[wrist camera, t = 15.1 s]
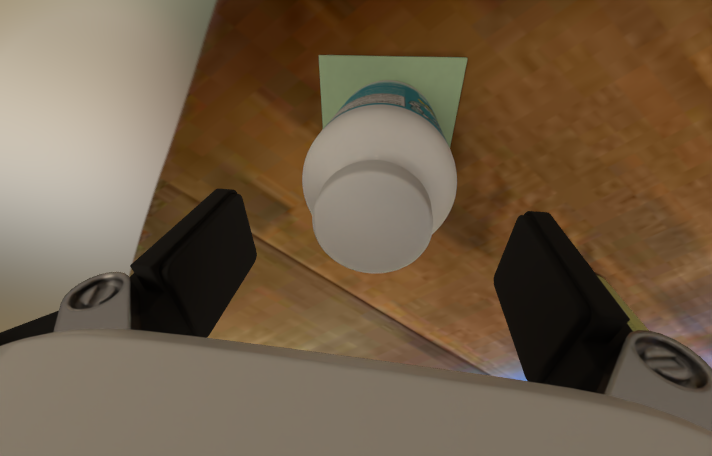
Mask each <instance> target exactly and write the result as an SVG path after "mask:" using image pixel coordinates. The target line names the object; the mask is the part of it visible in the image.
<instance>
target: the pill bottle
mask: <svg viewBox="0 0 712 456" xmlns="http://www.w3.org/2000/svg"><path fill="white" fill-rule="evenodd" d="M302 181H303V192H304V196H305V200H306V203H307V205H308V208H309V210H310V212H311V214H312V216H313V218H312V222H313V229H314V233H315V236H316V238H317V240H318V242H319V244H320V246H321V247H322V249H323V250H324V251H325V252H326V253H327V254H328V255H329V256H330V257H331V258H332V259H333V260H335V261H336V262H338V263H340V264H341V265H343V266H345V267H347V268H350V269H352V270H356V271H360V272H364V273H386V272H391V271H395V270H398V269H401V268H403V267H405V266H407V265H409V264H411V263H412V262H414V261H415V260H416V259H417V258H418V257H419V256H420V255H421V254H422V253H423V252H424V250H425V249H426V248H427V246H428V244H429V242H430V239H431V236H432V234H433V233H434V232H435V231H436V230H437V229H438V228H439V227H440V226H441V225H442V223H443V222H444V220H445V219H446V218H447V216H448V214H449V212H450V210H451V208H452V206H453V203H454V200H455V196H456V189H457V173H456V167H455V162H454V158H453V156H452V153H451V150H450V148H449V145H448V143H447V141H446V139H445V137H444V134H443V132H442V130H441V127H440V125H439V123H438V120H437V118H436V116H435V113H434V111H433V109H432V107H431V105H430V103H429V102H428V100H427V99H426V98H425V97H424V96H423V95H422V94H421V93H420V92H419V91H418V90H417V89H415V88H414V87H412V86H410V85H408V84H406V83H403V82H399V81H394V80H383V81H377V82H373V83H370V84H368V85H366V86H364V87H362V88H361V89H359V90H358V91H356V92H355V93H354V94H353V95H352V96H351V97H350V98H349V99H348V100H347V101H346V102H345V104H344V105H343V106H342V107H341V108H340V110H339V111H338V112H337V113H336V114H335V116H334V117H333V118H332V119H331V120H330V122H329V123H328V124H327V125H326V126H325V127H324V129H323V130H322V131H321V132H320V134H319V135H318V136H317V138H316V139H315V140H314V142H313V143H312V145H311V147H310V149H309V151H308V154H307V156H306V159H305V163H304V167H303V177H302Z"/></svg>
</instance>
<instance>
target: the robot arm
mask: <svg viewBox="0 0 712 456" xmlns="http://www.w3.org/2000/svg"><path fill="white" fill-rule="evenodd" d="M256 256H257V253H256V248H255V245H254V241H253V237H252V233H251V229H250V226H249V222H248V218H247V214H246V211H245V207H244V203H243V199H242V196H241V195H240V194H237V192H236V191H235V190H230V189H216V190H215V191H214V192H212V193H211V194H210V195H209V196H208V197H207V198H206V199H205V200H203V201H202V202H201V203H200V204H199V205H198V206H197V207H196V208H194V209H193V210H192V211H191V212H190V213H189V214H188V215H187V216H185V217H184V218H183V219H182V220H181V221H180V222H179V223H178V224H176V225H175V226H174V227H173V228H172V229H171V230H170V231H169V232H167V233H166V234H165V235H164V236H163V237H162V238H161V239H160V240H158V241H157V242H156V243H155V244H154V245H153V246H152V247H151V248H149V249H148V250H147V251H146V252H145V253H144V254H143V255H142V256H140V257H139V258H138V259H137V260H136V261H135V262H134V263H133V264H131V265H130V266H131V268H132V270H133V271H134V274H133V275H131V276H130V277H129V276H128V275H126V274H125V273H121V272H109V273H105V274H100V275H97V276H94V277H92V278H89V279H87V280H85V281H83V282H82V283H80V284H78V285H77V286H75V287H74V288H73V289H71V290H70V291H69V292H68V293H67V294H66V295H65V297H64V298H63V300H62V302H61V305H60V309H59V311H57V312H54V313H51V314H49V315H46V316H43V317H41V318H38V319H36V320H33V321H30V322H28V323H25V324H22V325H20V326H17V327H14V328H12V329H9V330H6V331H4V332H1V333H0V456H712V369H711V367H710V366H709V365H708V364H707V363H706V362H705V361H704V360H703V359H702V358H701V357H700V356H698V355H697V354H696V353H695V352H693V351H692V350H691V349H689V348H688V347H686V346H685V345H683V344H681V343H680V342H678V341H676V340H674V339H672V338H670V337H667V336H665V335H663V334H660V333H656V332H652V331H647V330H637V331H633V330H632V329H631V328H630V326H629V325H628V324H627V323H628V321H629V320H630V318H629V317H628V316H627V315H626V313H625V312H624V311H623V309H622V308H621V307H620V305H619V304H618V303H617V301H616V300H615V299H614V297H613V296H612V295H611V293H610V292H609V291H608V290H607V288H606V287H605V286H604V284H603V283H602V282H601V280H600V279H599V278H598V276H597V275H596V274H595V272H594V271H593V270H592V268H591V267H590V266H589V264H588V263H587V262H586V261H585V259H584V258H583V257H582V255H581V254H580V253H579V251H578V250H577V249H576V247H575V246H574V245H573V243H572V242H571V241H570V239H569V238H568V237H567V236H566V234H565V233H564V232H563V230H562V229H561V228H560V226H559V225H558V224H557V222H556V221H555V220H554V218H553V217H552V216H551V214H549V213H547V212H534V211H528V212H526V213H525V214H524V215H520V216H519V217H518V219H517V221H516V223H515V226H514V228H513V231H512V233H511V236H510V238H509V241H508V243H507V245H506V248H505V250H504V253H503V255H502V258H501V260H500V263H499V265H498V268H497V270H496V273H495V275H494V286H495V289H496V292H497V295H498V298H499V301H500V304H501V307H502V310H503V313H504V316H505V319H506V322H507V324H508V327H509V330H510V333H511V336H512V339H513V342H514V345H515V348H516V351H517V354H518V357H519V360H520V363H521V366H522V368H523V371H524V374H525V377H526V379H527V380H528V381H529V382H528V381H522V380H515V379H509V378H502V377H495V376H488V375H481V374H474V373H466V372H459V371H452V370H445V369H438V368H430V367H423V366H416V365H409V364H402V363H394V362H387V361H379V360H372V359H364V358H357V357H350V356H342V355H335V354H327V353H320V352H312V351H304V350H297V349H289V348H282V347H274V346H266V345H258V344H251V343H243V342H235V341H227V340H219V339H211V338H207V337H208V336H209V334H210V333H211V331H212V330H213V328H214V327H215V325H216V323H217V322H218V320H219V319H220V317H221V315H222V314H223V312H224V310H225V309H226V307H227V306H228V304H229V302H230V301H231V299H232V298H233V296H234V294H235V293H236V291H237V290H238V288H239V286H240V285H241V283H242V282H243V280H244V278H245V277H246V275H247V274H248V272H249V270H250V269H251V267H252V266H253V264H254V262H255V260H256Z"/></svg>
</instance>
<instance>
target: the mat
mask: <svg viewBox="0 0 712 456" xmlns="http://www.w3.org/2000/svg"><path fill="white" fill-rule="evenodd" d="M466 64H467V58H466V57H414V56H356V55H319V70H320V88H321V105H322V122H323V129H324V127H325V126H326V125H327V124H328V123H329V122H330V120H331V119H332V118H333V117H334V116H335V114H336V113H337V112H338V111H339V110H340V108H341V107H342V106H343V105H344V104H345V102H346V101H347V100H348V99H349V98H350V97H351V96H352V95H353V94H354V93H355V92H356V91H358V90H359V89H361V88H362V87H364V86H366V85H368V84H370V83H373V82H377V81H383V80H394V81H399V82H403V83H406V84H408V85H410V86H412V87H414V88H415V89H417V90H418V91H419V92H420V93H421V94H422V95H423V96H424V97H425V98H426V99H427V100H428V102H429V103H430V105H431V107H432V109H433V111H434V113H435V116H436V118H437V120H438V123H439V125H440V127H441V130H442V132H443V134H444V137H445V139H446V141H447V143H448V145H449V148H450V145H451V140H452V135H453V130H454V124H455V119H456V114H457V109H458V104H459V99H460V94H461V89H462V84H463V79H464V74H465V69H466Z"/></svg>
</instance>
